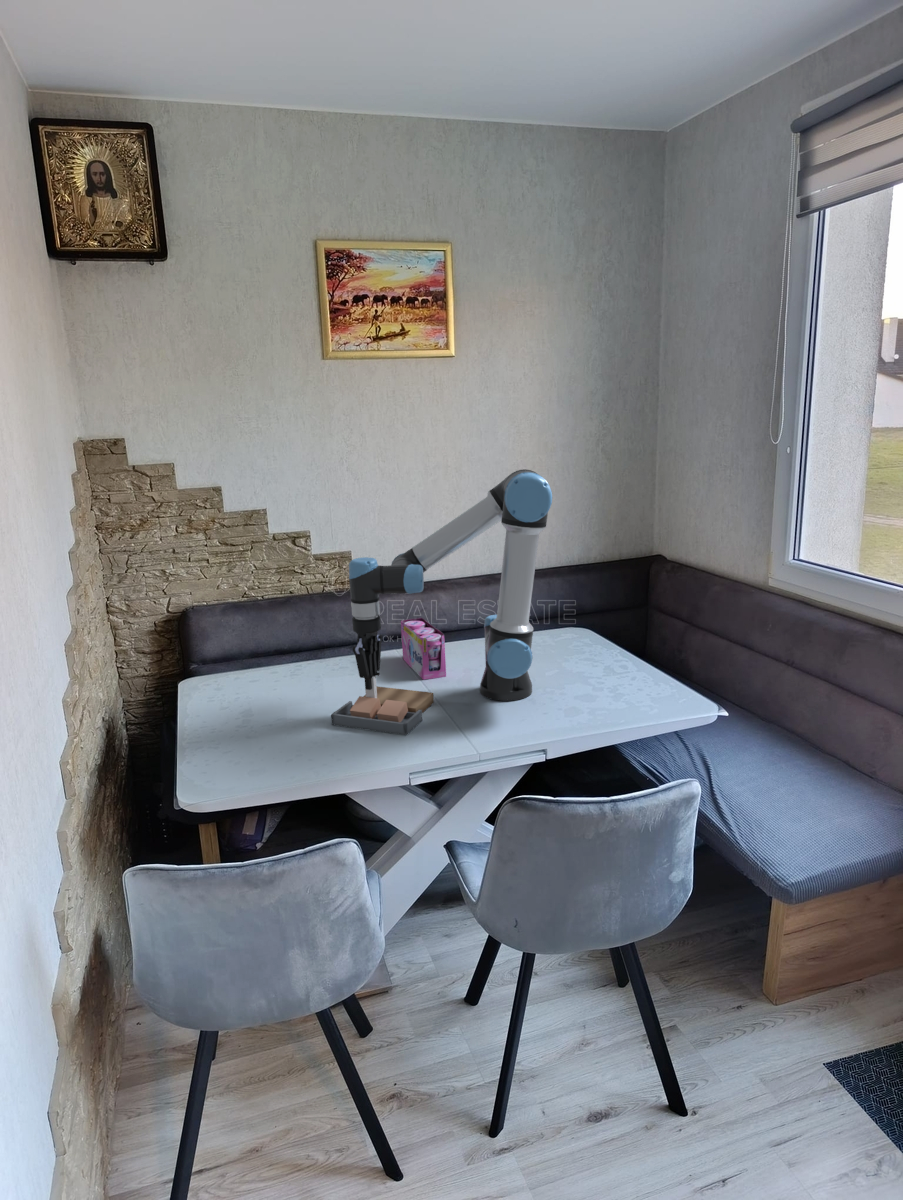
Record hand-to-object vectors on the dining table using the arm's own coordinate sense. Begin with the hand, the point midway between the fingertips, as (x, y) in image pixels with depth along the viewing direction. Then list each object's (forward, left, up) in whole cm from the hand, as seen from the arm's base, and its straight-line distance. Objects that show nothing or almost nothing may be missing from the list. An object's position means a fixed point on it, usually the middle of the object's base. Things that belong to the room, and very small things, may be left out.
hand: (371, 698), depth 211 cm
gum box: (+2, -39, -5) cm, 40 cm away
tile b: (0, +3, -3) cm, 4 cm away
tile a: (-8, +3, -3) cm, 9 cm away
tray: (-4, +5, -4) cm, 8 cm away
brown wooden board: (-4, -6, -4) cm, 9 cm away
